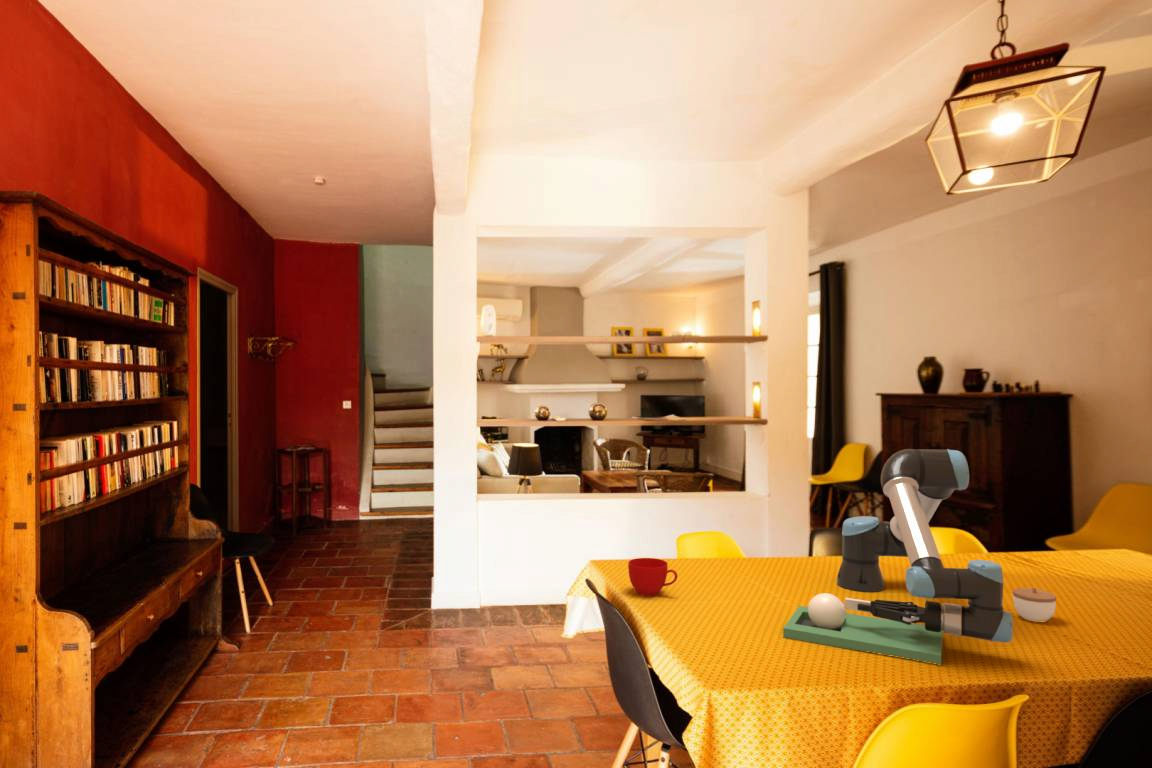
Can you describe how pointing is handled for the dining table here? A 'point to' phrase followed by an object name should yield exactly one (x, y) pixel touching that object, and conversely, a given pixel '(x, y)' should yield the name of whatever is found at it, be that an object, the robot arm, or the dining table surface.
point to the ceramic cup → (649, 575)
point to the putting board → (869, 636)
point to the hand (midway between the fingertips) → (845, 603)
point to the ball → (826, 611)
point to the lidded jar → (1034, 603)
